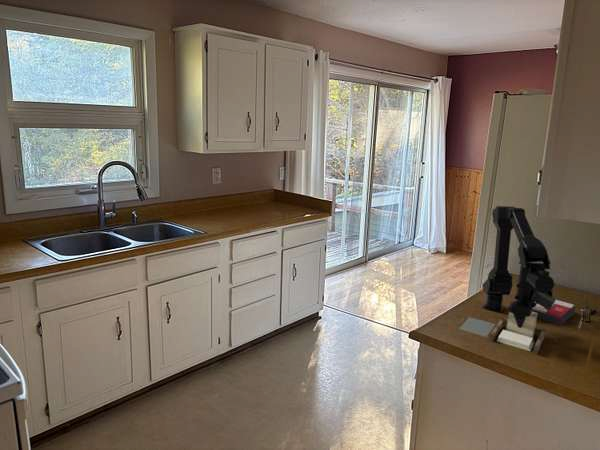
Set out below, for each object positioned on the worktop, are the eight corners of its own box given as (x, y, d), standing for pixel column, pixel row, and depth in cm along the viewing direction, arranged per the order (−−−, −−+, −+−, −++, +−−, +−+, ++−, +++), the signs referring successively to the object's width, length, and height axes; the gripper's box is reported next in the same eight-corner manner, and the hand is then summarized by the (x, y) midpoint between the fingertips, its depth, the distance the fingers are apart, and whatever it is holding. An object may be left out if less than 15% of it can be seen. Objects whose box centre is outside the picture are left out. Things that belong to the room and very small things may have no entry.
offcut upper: (502, 333, 154) (503, 329, 154) (532, 341, 149) (533, 338, 149) (497, 340, 149) (498, 336, 149) (528, 349, 144) (529, 345, 144)
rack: (500, 326, 161) (501, 318, 161) (544, 338, 153) (545, 329, 153) (489, 342, 149) (490, 333, 149) (536, 356, 142) (537, 347, 141)
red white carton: (530, 307, 170) (545, 295, 180) (528, 317, 171) (543, 305, 181) (562, 317, 162) (576, 303, 172) (560, 328, 163) (574, 314, 173)
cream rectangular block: (508, 330, 158) (511, 306, 156) (533, 337, 154) (537, 312, 151) (505, 335, 155) (509, 310, 153) (531, 342, 150) (535, 317, 148)
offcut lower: (501, 336, 155) (502, 333, 155) (533, 346, 149) (534, 342, 149) (496, 344, 150) (496, 340, 149) (529, 354, 144) (530, 350, 143)
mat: (469, 318, 166) (469, 317, 166) (495, 325, 161) (495, 324, 161) (458, 330, 157) (458, 328, 157) (486, 338, 152) (486, 336, 152)
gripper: (551, 296, 137) (543, 343, 141) (560, 279, 152) (552, 322, 156) (511, 287, 144) (504, 332, 148) (523, 271, 159) (517, 313, 162)
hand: (521, 325), depth 153 cm, fingers closed on cream rectangular block, 4 cm apart
